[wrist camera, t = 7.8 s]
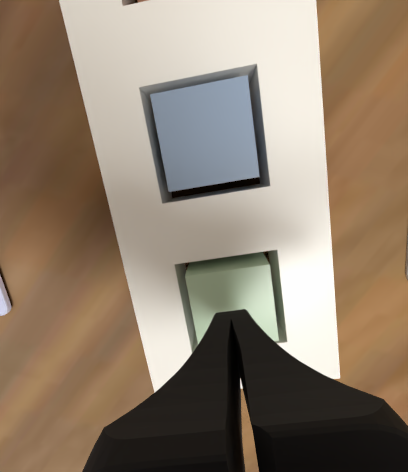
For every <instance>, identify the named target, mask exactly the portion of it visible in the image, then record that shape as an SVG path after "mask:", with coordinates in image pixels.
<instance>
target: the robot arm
mask: <svg viewBox="0 0 408 472" xmlns="http://www.w3.org/2000/svg"><path fill="white" fill-rule="evenodd" d="M10 310H11V304H10V301H9V298H8V295H7V292H6V289H5V287H4V284H3V281H2V278H1V275H0V316H2V315H5V314H7V313H8V312H9V311H10ZM240 378H241V383H242V387H243V391H244V395H245V400H246V404H247V408H248V412H249V417H250V421H251V425H252V429H253V435H254V441H255V448H256V454H257V461H258V467H259V472H408V426H407V425H406V423H405V422H404V421H403V420H402V419H401V418H400V416H399V415H398V414H397V413H396V412H395V411H394V410H393V409H392V408H391V407H390V406H389V405H388V404H387V403H386V402H385V400H384V399H382V398H379V397H376V396H373V395H371V394H368V393H365V392H363V391H360V390H357V389H355V388H352V387H349V386H347V385H345V384H342V383H340V382H338V381H336V380H334V379H332V378H329V377H327V376H325V375H323V374H321V373H320V372H318V371H316V370H314V369H312V368H311V367H309V366H307V365H306V364H304V363H302V362H301V361H299V360H297V359H296V358H295V357H293V356H292V355H290V354H289V353H288V352H286V351H285V350H284V349H283V348H281V347H280V346H279V345H278V344H277V343H276V342H275V341H273V340H272V339H271V338H270V337H269V336H268V335H267V334H266V333H265V332H264V331H263V330H262V329H261V328H260V326H259V325H258V324H257V323H256V322H255V321H254V319H253V318H252V317H251V315H250V314H249V312H248V311H247V310H246V309H241V310H234V311H226V312H218V313H215V315H214V316H213V318H212V321H211V323H210V325H209V327H208V329H207V331H206V332H205V334H204V336H203V338H202V339H201V341H200V342H199V344H198V345H197V347H196V348H195V350H194V351H193V353H192V354H191V356H190V357H189V358H188V360H187V361H186V362H185V363H184V365H183V366H182V367H181V368H180V369H179V370H178V371H177V372H176V373H175V374H174V375H173V376H172V377H171V378H170V379H169V380H168V381H167V382H166V383H165V384H164V385H163V386H162V387H161V388H160V389H158V390H157V391H156V392H155V393H154V394H152V395H151V396H150V397H149V398H147V399H146V400H145V401H143V402H142V403H141V404H140V405H138V406H137V407H135V408H134V409H133V410H131V411H129V412H128V413H126V414H125V415H123V416H122V417H120V418H119V419H117V420H116V421H114V422H113V423H111V424H109V425H108V426H106V427H104V429H103V430H102V432H101V434H100V436H99V438H98V440H97V442H96V443H95V445H94V447H93V449H92V452H91V454H90V456H89V458H88V460H87V462H86V465H85V467H84V469H83V472H245V464H244V455H243V445H242V424H241V387H240Z"/></svg>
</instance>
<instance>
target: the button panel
mask: <svg viewBox="0 0 408 472" xmlns="http://www.w3.org/2000/svg"><path fill="white" fill-rule="evenodd" d="M59 2H60V6H61V10H62V14H63V18H64V22H65V27H66V31H67V35H68V39H69V43H70V47H71V51H72V55H73V59H74V64H75V68H76V72H77V76H78V80H79V84H80V88H81V92H82V96H83V101H84V105H85V109H86V113H87V117H88V121H89V125H90V129H91V133H92V138H93V142H94V146H95V150H96V154H97V158H98V162H99V166H100V170H101V175H102V179H103V183H104V187H105V191H106V195H107V199H108V203H109V207H110V212H111V216H112V220H113V224H114V228H115V232H116V236H117V240H118V244H119V249H120V253H121V257H122V261H123V265H124V269H125V273H126V277H127V281H128V286H129V290H130V294H131V298H132V302H133V306H134V310H135V314H136V318H137V323H138V327H139V331H140V335H141V339H142V343H143V347H144V351H145V355H146V360H147V364H148V368H149V372H150V376H151V380H152V384H153V388H154V392H156V391H157V390H158V389H160V388H161V387H162V386H163V385H164V384H165V383H166V382H167V381H168V380H169V379H170V378H171V377H172V376H173V375H174V374H175V373H176V372H177V371H178V370H179V369H180V368H181V367H182V366H183V365H184V363H185V362H186V361H187V360H188V358H189V357H190V356H191V354H192V353H193V351H194V350H195V348H196V347H197V345H198V341H197V336H196V331H195V326H194V321H193V315H192V310H191V305H190V300H189V295H188V289H187V284H186V279H185V275H186V266H185V263H188V262H195V261H202V260H209V259H216V258H223V257H230V256H236V255H243V254H250V253H257V252H264V251H268V256H269V264H270V269H271V278H272V286H273V295H274V303H275V312H276V320H277V329H278V337H279V341H275V342H276V343H277V344H278V345H279V346H280V347H281V348H283V349H284V350H285V351H286V352H288V353H289V354H290V355H292V356H293V357H295V358H296V359H297V360H299V361H301V362H302V363H304V364H306V365H307V366H309V367H311V368H312V369H314V370H316V371H318V372H320V373H321V374H323V375H325V376H327V377H329V378H332V379H337V378H340V369H339V354H338V338H337V322H336V306H335V291H334V275H333V259H332V244H331V228H330V212H329V196H328V181H327V165H326V149H325V133H324V118H323V102H322V86H321V71H320V55H319V39H318V23H317V8H316V0H148V1H143V2H139V3H135V0H59ZM245 75H248V82H249V90H250V99H251V107H252V116H253V124H254V133H255V141H256V150H257V159H258V167H259V176H260V177H259V180H260V184H255V185H249V186H243V187H236V188H230V189H224V190H218V191H212V192H206V193H200V194H194V195H188V196H182V197H176V198H172V193H171V192H169V191H168V185H167V180H166V175H165V170H164V165H163V159H162V154H161V149H160V144H159V139H158V133H157V128H156V123H155V118H154V113H153V107H152V102H151V97H150V94H154V93H160V92H165V91H170V90H175V89H180V88H185V87H190V86H195V85H200V84H205V83H210V82H215V81H220V80H225V79H230V78H235V77H240V76H245ZM240 387H241V388H243V387H242V383H241V378H240Z"/></svg>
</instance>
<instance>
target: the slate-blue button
mask: <svg viewBox="0 0 408 472" xmlns="http://www.w3.org/2000/svg"><path fill="white" fill-rule="evenodd" d="M150 97H151V102H152V107H153V113H154V118H155V123H156V128H157V133H158V139H159V144H160V149H161V154H162V159H163V165H164V170H165V175H166V180H167V185H168V191H169V192H172V191H178V190H184V189H190V188H196V187H202V186H208V185H214V184H220V183H226V182H232V181H238V180H244V179H250V178H256V177H260V176H259V167H258V159H257V150H256V141H255V133H254V124H253V116H252V107H251V99H250V90H249V82H248V75H245V76H240V77H235V78H230V79H225V80H220V81H215V82H210V83H205V84H200V85H195V86H190V87H185V88H180V89H175V90H170V91H165V92H160V93H154V94H150Z"/></svg>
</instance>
